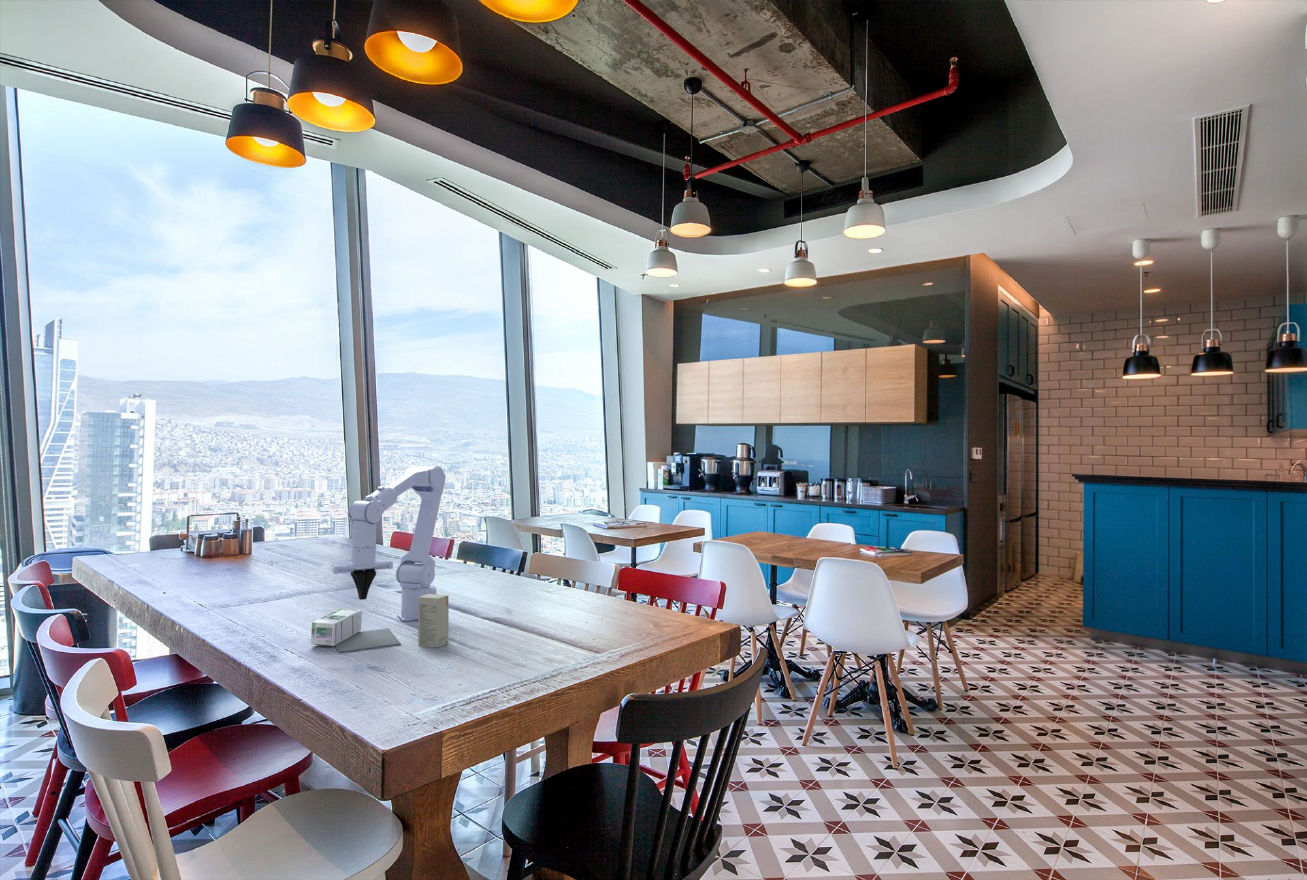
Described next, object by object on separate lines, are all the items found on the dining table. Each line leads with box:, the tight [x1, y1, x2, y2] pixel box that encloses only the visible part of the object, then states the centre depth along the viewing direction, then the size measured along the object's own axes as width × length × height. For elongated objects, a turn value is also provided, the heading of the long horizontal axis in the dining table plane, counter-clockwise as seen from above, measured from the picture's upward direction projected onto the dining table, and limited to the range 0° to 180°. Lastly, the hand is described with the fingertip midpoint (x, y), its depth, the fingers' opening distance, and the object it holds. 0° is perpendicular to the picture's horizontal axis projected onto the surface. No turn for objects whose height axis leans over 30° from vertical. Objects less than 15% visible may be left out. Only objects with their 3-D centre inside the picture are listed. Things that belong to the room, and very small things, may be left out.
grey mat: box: [334, 627, 402, 654], centre depth 167 cm, size 14×16×1 cm
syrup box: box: [310, 608, 363, 647], centre depth 168 cm, size 6×6×14 cm
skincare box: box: [417, 593, 450, 648], centre depth 165 cm, size 6×4×12 cm
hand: (362, 598), depth 172 cm, fingers closed
